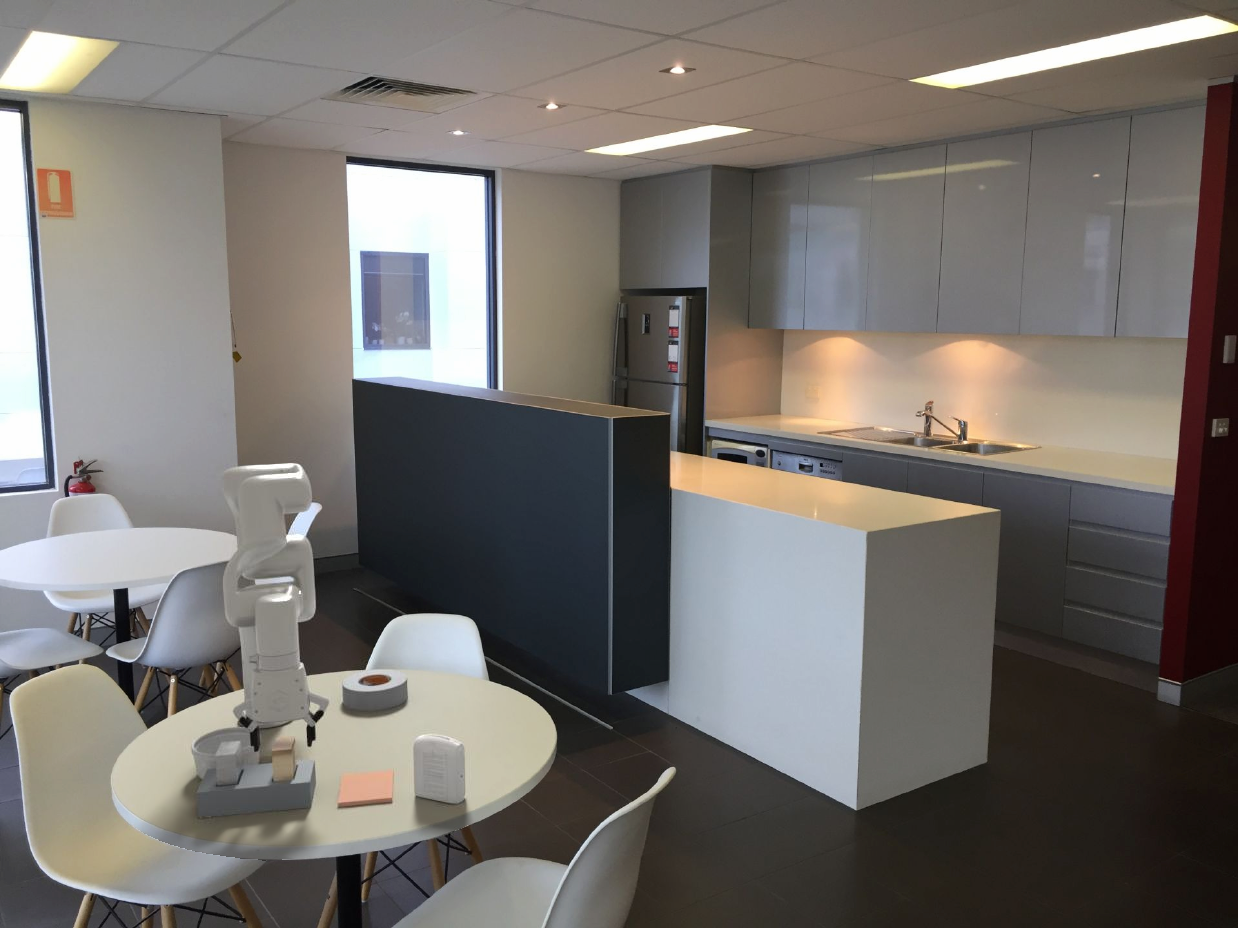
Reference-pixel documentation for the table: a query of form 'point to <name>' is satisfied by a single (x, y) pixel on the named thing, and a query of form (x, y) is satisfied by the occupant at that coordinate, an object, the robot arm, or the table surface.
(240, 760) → the steel plug
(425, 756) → the photo printer
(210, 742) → the ramekin
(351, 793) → the mat
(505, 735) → the table surface
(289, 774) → the beech plug
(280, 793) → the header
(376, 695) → the tape roll
